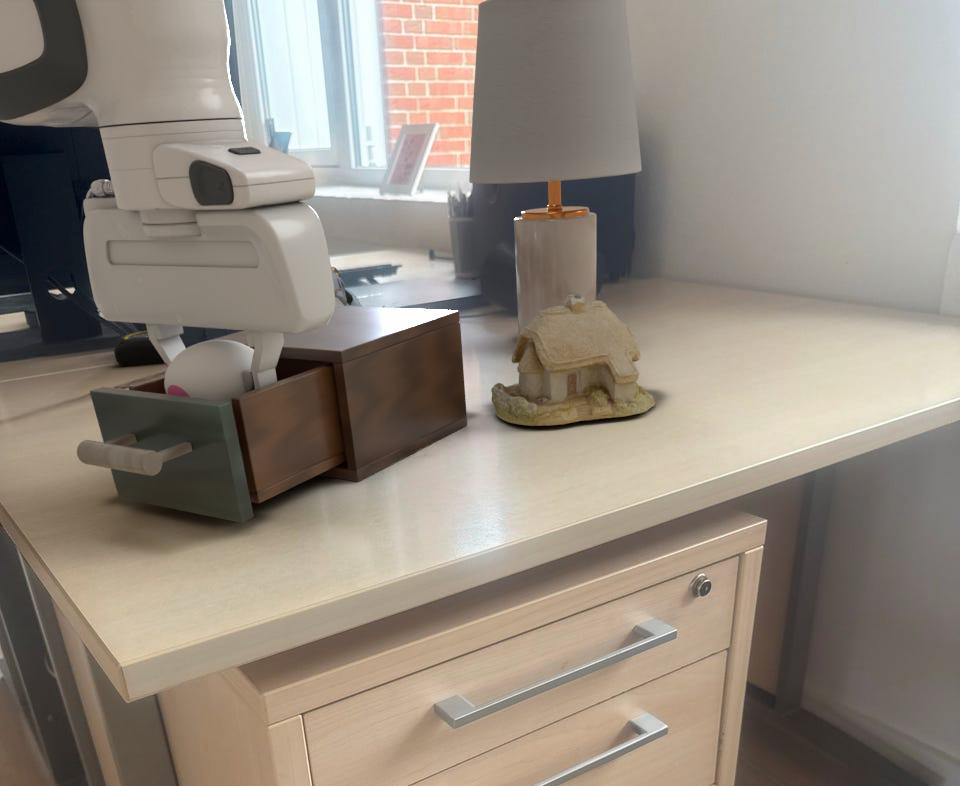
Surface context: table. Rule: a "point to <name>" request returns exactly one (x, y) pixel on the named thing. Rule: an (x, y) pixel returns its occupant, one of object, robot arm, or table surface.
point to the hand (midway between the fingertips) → (224, 390)
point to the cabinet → (387, 380)
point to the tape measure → (136, 350)
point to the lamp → (553, 129)
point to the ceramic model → (573, 368)
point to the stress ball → (209, 370)
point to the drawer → (219, 441)
